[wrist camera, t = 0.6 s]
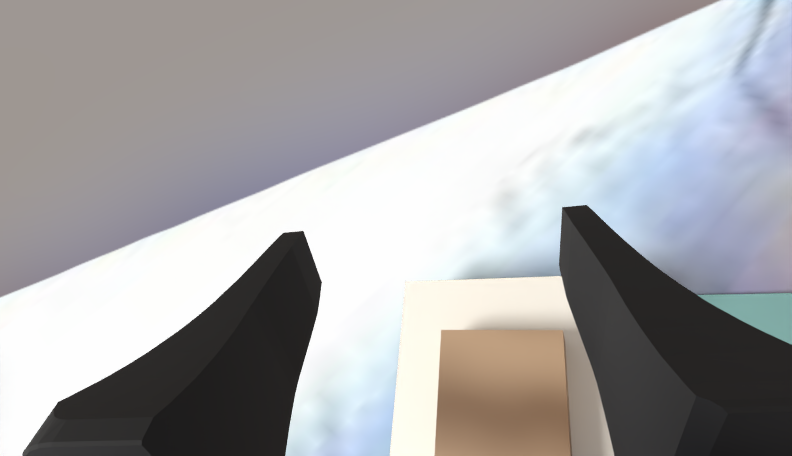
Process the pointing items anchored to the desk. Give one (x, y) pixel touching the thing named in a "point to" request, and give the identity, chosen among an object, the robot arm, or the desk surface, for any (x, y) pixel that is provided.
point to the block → (503, 394)
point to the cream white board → (487, 310)
